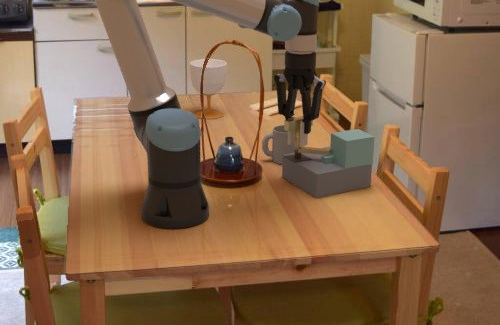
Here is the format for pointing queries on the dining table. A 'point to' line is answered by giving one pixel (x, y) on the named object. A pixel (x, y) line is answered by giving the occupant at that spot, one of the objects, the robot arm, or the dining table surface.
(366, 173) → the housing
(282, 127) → the cup
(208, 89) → the cup
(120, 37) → the robot arm
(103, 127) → the dining table surface
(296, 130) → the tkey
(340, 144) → the cover
